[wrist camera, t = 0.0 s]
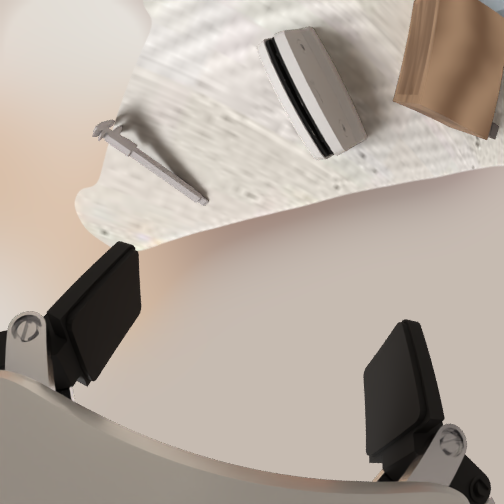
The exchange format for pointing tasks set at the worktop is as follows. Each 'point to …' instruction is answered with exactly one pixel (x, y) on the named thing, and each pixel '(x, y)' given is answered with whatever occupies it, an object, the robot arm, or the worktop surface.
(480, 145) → the worktop surface
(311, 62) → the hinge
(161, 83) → the worktop surface
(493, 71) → the cabinet
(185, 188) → the caliper
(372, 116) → the worktop surface
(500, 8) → the door
